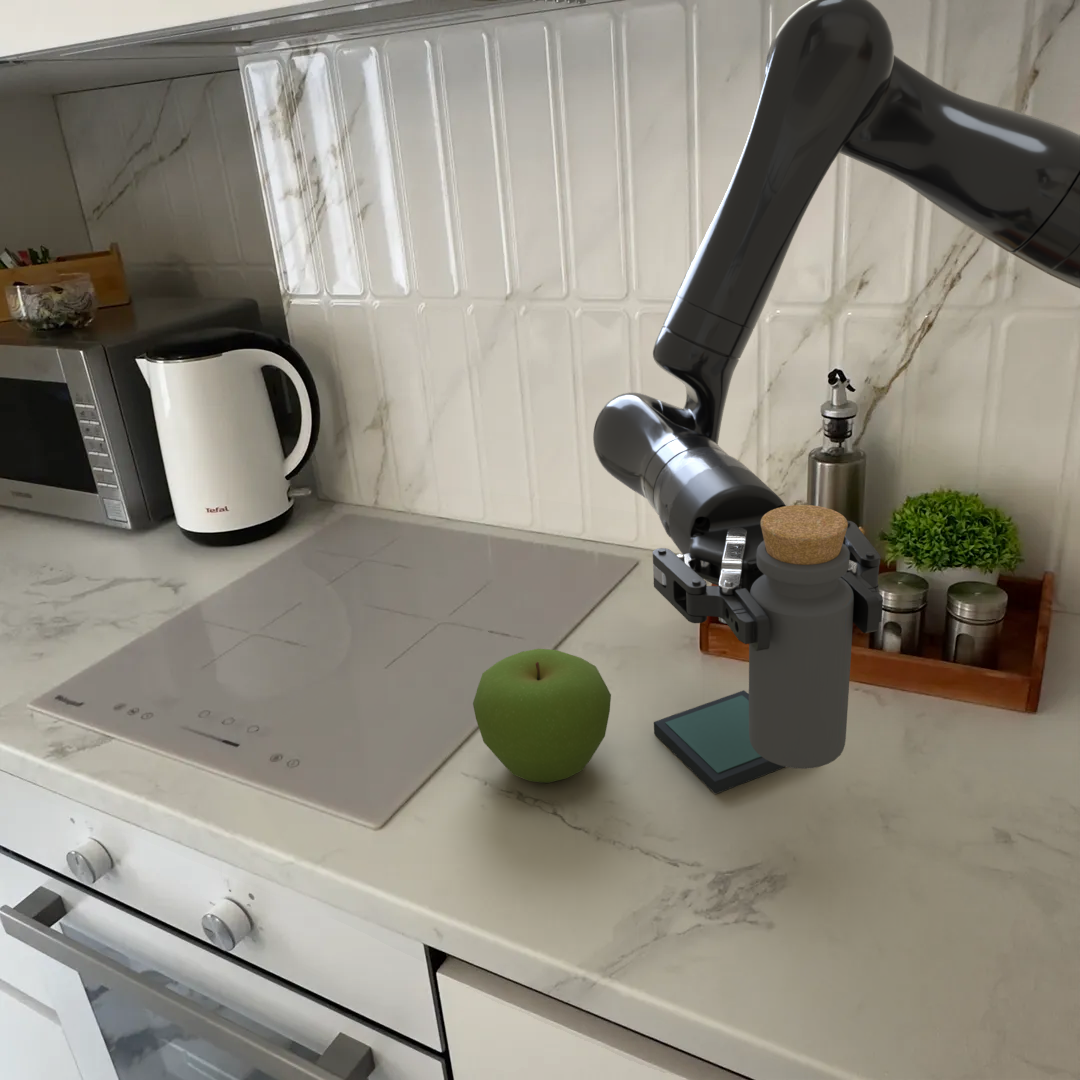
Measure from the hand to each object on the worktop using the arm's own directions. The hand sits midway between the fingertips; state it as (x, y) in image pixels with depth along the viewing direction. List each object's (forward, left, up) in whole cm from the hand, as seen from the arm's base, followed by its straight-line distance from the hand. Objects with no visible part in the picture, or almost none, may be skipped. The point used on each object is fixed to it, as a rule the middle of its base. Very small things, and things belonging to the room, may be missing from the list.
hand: (818, 626), depth 55 cm
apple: (+9, -21, -21) cm, 31 cm away
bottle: (-1, -2, -10) cm, 10 cm away
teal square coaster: (-6, -16, -21) cm, 27 cm away
